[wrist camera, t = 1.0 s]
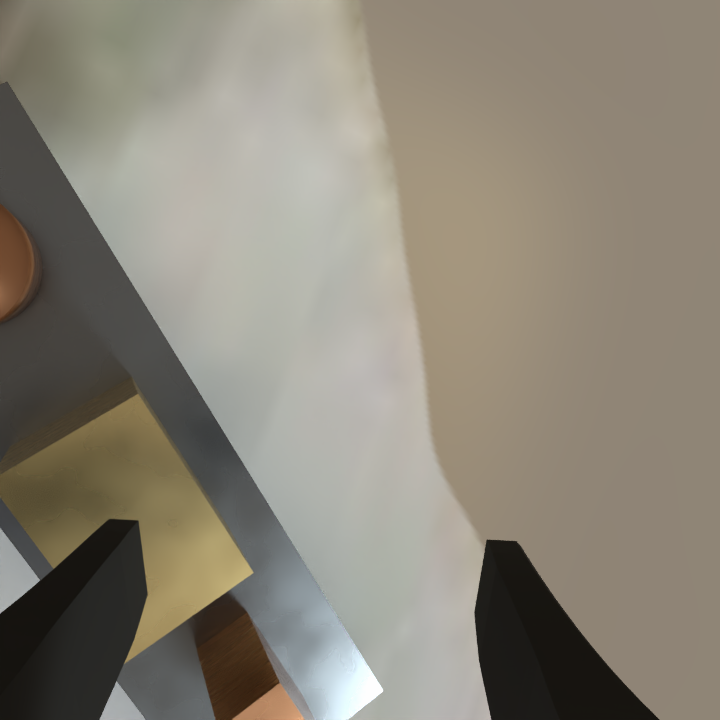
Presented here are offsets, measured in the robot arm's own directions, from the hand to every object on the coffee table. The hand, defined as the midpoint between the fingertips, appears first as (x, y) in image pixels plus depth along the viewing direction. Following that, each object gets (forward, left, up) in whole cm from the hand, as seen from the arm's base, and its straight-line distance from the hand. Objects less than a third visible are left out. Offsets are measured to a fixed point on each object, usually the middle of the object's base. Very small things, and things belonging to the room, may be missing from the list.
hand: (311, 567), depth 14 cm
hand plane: (-3, +1, -12) cm, 12 cm away
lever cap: (-3, +1, -9) cm, 10 cm away
